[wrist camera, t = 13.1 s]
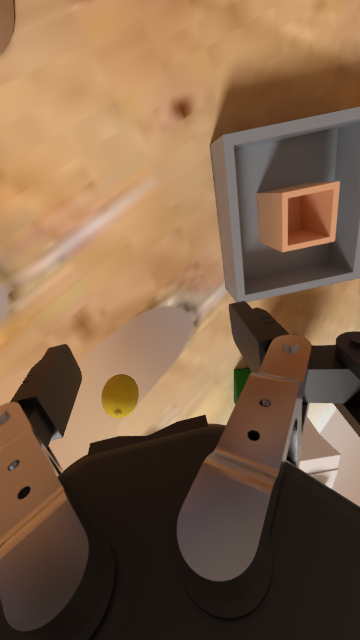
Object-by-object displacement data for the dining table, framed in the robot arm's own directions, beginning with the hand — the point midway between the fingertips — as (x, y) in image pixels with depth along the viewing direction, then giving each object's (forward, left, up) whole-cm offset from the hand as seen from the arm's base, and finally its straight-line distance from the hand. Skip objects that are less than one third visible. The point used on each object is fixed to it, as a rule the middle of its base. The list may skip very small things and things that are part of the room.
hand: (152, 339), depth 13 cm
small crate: (-1, +17, -24) cm, 29 cm away
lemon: (+20, -10, -25) cm, 33 cm away
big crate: (-1, +17, -24) cm, 30 cm away
